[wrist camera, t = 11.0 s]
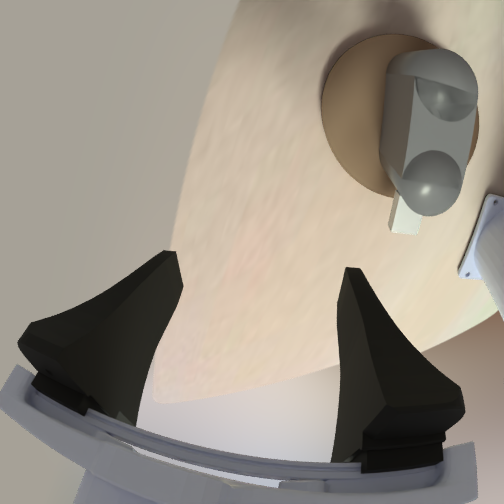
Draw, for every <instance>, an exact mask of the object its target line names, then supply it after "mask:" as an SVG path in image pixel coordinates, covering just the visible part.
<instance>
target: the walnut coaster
mask: <svg viewBox="0 0 504 504" xmlns="http://www.w3.org/2000/svg"><path fill="white" fill-rule="evenodd" d="M430 49H439V48H437V47H436V46H434V45H433V44H431V43H429V42H427V41H425V40H422V39H419V38H416V37H413V36H408V35H401V34H387V35H379V36H376V37H372V38H369V39H367V40H364V41H362V42H360V43H358V44H356V45H355V46H353V47H352V48H350V49H349V50H348V51H347V52H345V53H344V54H343V55H342V56H341V57H340V58H339V60H338V61H337V62H336V63H335V65H334V66H333V68H332V70H331V71H330V73H329V75H328V78H327V80H326V83H325V86H324V90H323V94H322V104H321V108H322V121H323V127H324V130H325V134H326V137H327V141H328V143H329V145H330V148H331V150H332V152H333V153H334V155H335V157H336V159H337V160H338V162H339V163H340V164H341V166H342V167H343V168H344V169H345V171H346V172H347V173H348V174H349V175H350V176H351V177H352V178H354V179H355V180H356V181H357V182H358V183H360V184H361V185H363V186H364V187H366V188H368V189H369V190H372V191H374V192H376V193H378V194H381V195H384V196H387V197H392V198H394V195H395V190H397V189H396V187H395V185H394V184H393V182H392V181H391V179H390V178H389V176H388V175H387V173H386V172H385V170H384V169H383V167H382V165H381V163H380V159H379V148H380V140H381V131H382V122H383V111H384V99H385V85H386V70H387V66H388V64H389V62H390V61H391V59H392V58H393V57H395V56H396V55H398V54H400V53H405V52H412V51H420V50H430ZM478 132H479V114H478V107H477V109H476V117H475V124H474V130H473V136H472V142H471V147H470V152H469V157H468V162H467V165H468V163H469V161H470V159H471V157H472V155H473V153H474V150H475V147H476V143H477V139H478Z"/></svg>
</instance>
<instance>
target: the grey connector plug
mask: <svg viewBox="0 0 504 504" xmlns="http://www.w3.org/2000/svg"><path fill="white" fill-rule="evenodd" d="M477 100H478V85H477V81H476V77H475V75H474V72H473V71H472V69H471V67H470V66H469V64H468V63H467V62H466V61H465V60H464V59H463V58H462V57H461V56H459V55H458V54H456V53H455V52H452V51H450V50H447V49H430V50H420V51H412V52H405V53H400V54H398V55H396V56H395V57H393V58H392V59H391V61H390V62H389V64H388V66H387V70H386V85H385V99H384V111H383V122H382V131H381V140H380V148H379V159H380V163H381V165H382V167H383V169H384V170H385V172H386V173H387V175H388V176H389V178H390V179H391V181H392V182H393V184H394V185H395V187H396V189H397V190H395V195H394V200H393V205H392V209H391V214H390V218H389V222H388V226H389V228H390V231H391V232H394V233H402V234H411V235H417V234H418V230H419V227H420V224H421V220H422V217H423V216H435V215H439V214H441V213H443V212H445V211H447V210H448V209H449V208H450V207H451V206H452V205H453V204H454V203H455V201H456V200H457V198H458V196H459V194H460V191H461V187H462V183H463V179H464V175H465V171H466V167H467V162H468V157H469V152H470V147H471V142H472V136H473V130H474V124H475V117H476V109H477Z"/></svg>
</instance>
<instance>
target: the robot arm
mask: <svg viewBox="0 0 504 504" xmlns="http://www.w3.org/2000/svg"><path fill="white" fill-rule="evenodd" d="M495 200H496V202H495V203H494V201H495ZM467 272H468V273H467ZM466 273H467V274H466ZM458 276H459V277H460V278H464V279H478V280H483V281H484V283H485V284H486V286H487V288H488V290H489V292H490V294H491V296H492V298H493V300H494V302H495V304H496V306H497V308H498V310H499V312H500V314H501V316H502V318H503V321H504V197H501V196H498V195H494V194H488V195H487V196H486V198H485V201H484V204H483V207H482V211H481V214H480V217H479V220H478V223H477V225H476V228H475V231H474V234H473V236H472V239H471V242H470V244H469V247H468V249H467V252H466V254H465V256H464V259H463V261H462V264H461V266H460V268H459V270H458ZM183 287H184V286H183V282H182V278H181V273H180V268H179V264H178V259H177V254H176V251H165V250H163V251H162V252H160V253H159V254H157V255H156V256H155V257H153V258H152V259H150V260H149V261H147V262H146V263H145V264H143V265H142V266H141V267H139V268H138V269H137V270H135V271H134V272H133V273H131V274H130V275H129V276H127V277H125V278H124V279H123V280H121V281H120V282H118V283H117V284H115V285H114V286H112V287H111V288H109V289H108V290H106V291H104V292H103V293H101V294H99V295H98V296H96V297H94V298H92V299H90V300H89V301H86V302H84V303H82V304H80V305H78V306H76V307H74V308H72V309H69V310H67V311H65V312H62V313H60V314H57V315H54V316H51V317H48V318H45V319H42V320H38V321H35V322H31V323H30V325H29V326H28V327H27V329H26V330H25V332H24V333H23V335H22V336H21V338H20V339H19V340H18V342H17V343H18V347H19V349H20V351H21V352H22V353H23V354H24V356H25V357H26V358H27V359H28V361H29V362H30V363H31V364H32V365H33V366H34V368H35V369H36V370H37V371H38V373H37V374H36V376H35V375H33V374H32V373H31V372H30V371H28V370H26V369H25V368H23V367H21V366H20V365H16V366H15V368H14V370H13V371H12V373H11V374H10V376H9V378H8V379H7V381H6V383H5V384H4V386H3V388H2V390H1V391H0V409H1V410H3V411H4V412H5V413H6V414H7V415H8V416H10V417H11V418H12V419H13V420H15V421H16V422H17V423H18V424H19V425H21V426H22V427H23V428H24V429H26V430H27V431H28V432H30V433H31V434H32V435H34V436H35V437H36V438H38V439H39V440H41V441H42V442H43V443H45V444H46V445H48V446H49V447H51V448H52V449H54V450H55V451H57V452H58V453H60V454H62V455H63V456H65V457H67V458H68V459H70V460H71V461H73V462H75V463H76V464H78V465H80V466H82V467H83V468H85V469H86V471H85V474H84V476H83V479H82V481H81V484H80V486H79V489H78V492H77V494H76V497H75V500H74V502H73V504H465V503H468V502H471V501H473V500H476V499H477V498H478V485H477V467H476V457H475V456H476V455H475V447H474V442H468V443H464V444H460V445H455V446H451V447H447V448H445V449H443V447H442V442H444V441H445V440H446V435H445V431H447V430H448V429H449V428H451V427H452V426H453V425H454V424H456V423H457V422H458V421H459V420H460V419H461V418H462V417H463V415H464V414H465V405H464V400H463V395H462V391H461V388H460V387H459V386H458V385H457V384H456V383H454V382H453V381H452V380H450V379H449V378H448V377H446V376H445V375H444V374H443V373H441V372H440V371H439V370H438V369H437V368H436V367H434V366H433V365H432V364H431V363H430V362H429V361H428V360H427V359H426V358H425V357H424V356H423V355H422V354H421V353H420V352H419V351H418V350H417V349H416V348H415V347H414V346H413V345H412V344H411V343H410V341H409V340H408V339H407V338H406V337H405V336H404V334H403V333H402V332H401V331H400V329H399V328H398V327H397V326H396V324H395V323H394V321H393V320H392V319H391V317H390V316H389V314H388V313H387V311H386V310H385V308H384V307H383V305H382V304H381V302H380V301H379V299H378V297H377V296H376V294H375V293H374V291H373V289H372V287H371V286H370V284H369V282H368V281H367V279H366V277H365V275H364V274H363V272H362V270H361V269H360V268H351V267H346V268H345V272H344V277H343V281H342V285H341V290H340V294H339V298H338V302H337V333H338V345H339V358H340V394H339V408H338V418H337V425H336V433H335V440H334V446H333V452H332V458H331V462H330V463H319V462H299V461H287V460H277V459H268V458H260V457H253V456H247V455H240V454H235V453H229V452H224V451H219V450H215V449H210V448H206V447H201V446H197V445H193V444H189V443H185V442H182V441H178V440H174V439H171V438H168V437H164V436H161V435H158V434H154V433H152V432H149V431H146V430H143V429H140V428H137V427H136V422H137V417H138V411H139V406H140V401H141V397H142V393H143V389H144V385H145V381H146V378H147V374H148V371H149V368H150V365H151V362H152V359H153V356H154V353H155V350H156V348H157V346H158V343H159V341H160V339H161V337H162V335H163V333H164V331H165V329H166V327H167V325H168V323H169V321H170V319H171V317H172V315H173V313H174V311H175V309H176V307H177V304H178V302H179V299H180V296H181V293H182V290H183ZM120 440H121V441H120ZM122 441H123V442H122ZM124 442H126V443H128V444H131V445H133V446H136V447H139V448H141V449H144V450H147V451H150V452H153V453H156V454H159V455H162V456H165V457H168V458H171V459H175V460H178V461H182V462H185V463H189V464H193V465H197V466H201V467H205V468H210V469H214V470H218V471H223V472H228V473H234V474H240V475H246V476H252V477H259V478H267V479H275V480H286V481H281V482H280V483H279V487H278V488H274V487H267V486H261V485H256V484H250V483H245V482H240V481H235V480H230V479H227V478H222V477H218V476H214V475H210V474H206V473H202V472H198V471H195V470H191V469H187V468H184V467H181V466H177V465H173V464H170V463H167V462H164V461H161V460H157V459H154V458H151V457H148V456H145V455H142V454H140V453H138V452H137V451H135V450H134V449H133V448H132V446H130V445H128V444H126V443H124Z"/></svg>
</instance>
